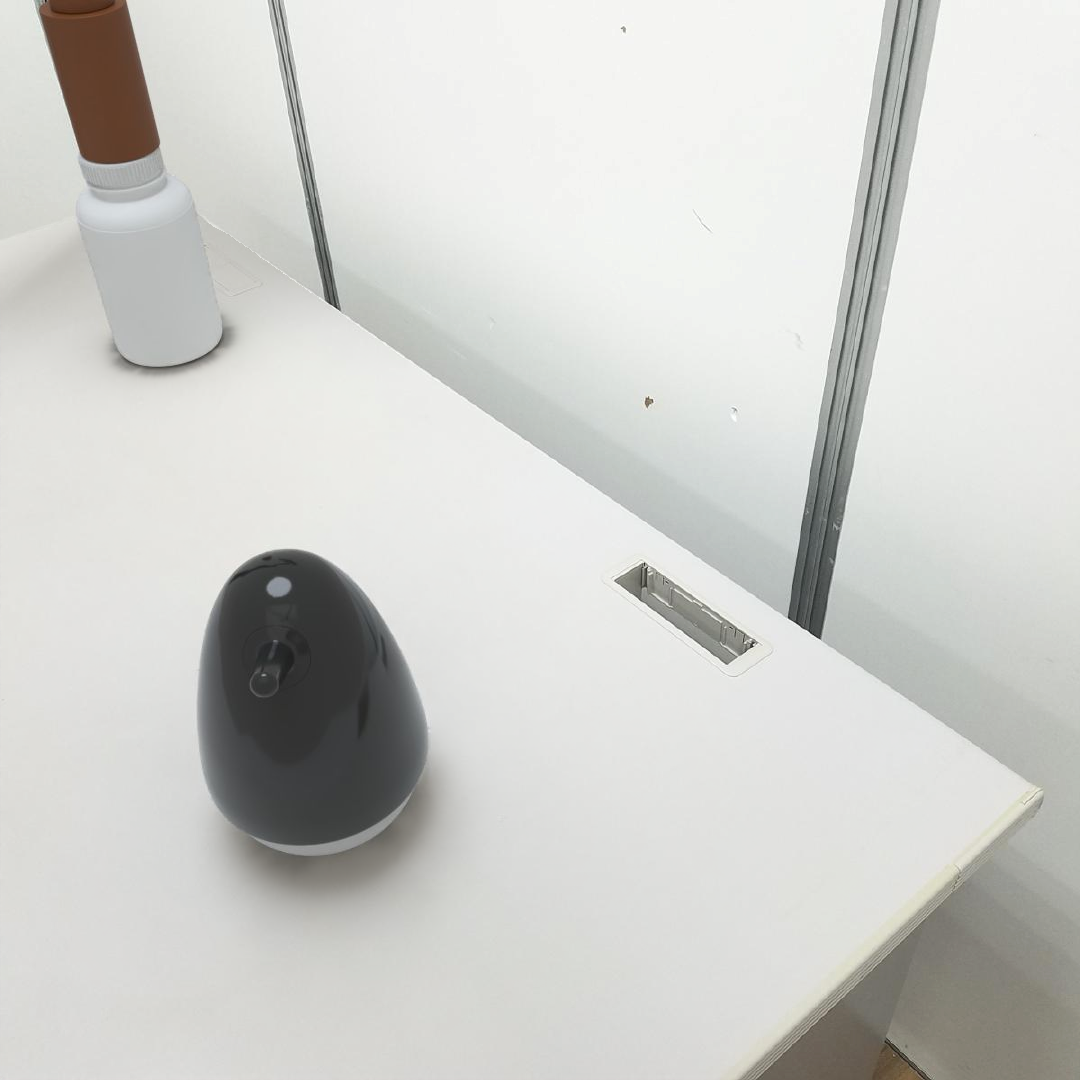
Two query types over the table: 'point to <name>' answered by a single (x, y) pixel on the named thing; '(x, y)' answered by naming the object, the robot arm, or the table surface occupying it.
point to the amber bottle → (101, 78)
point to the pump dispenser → (306, 708)
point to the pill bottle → (148, 261)
